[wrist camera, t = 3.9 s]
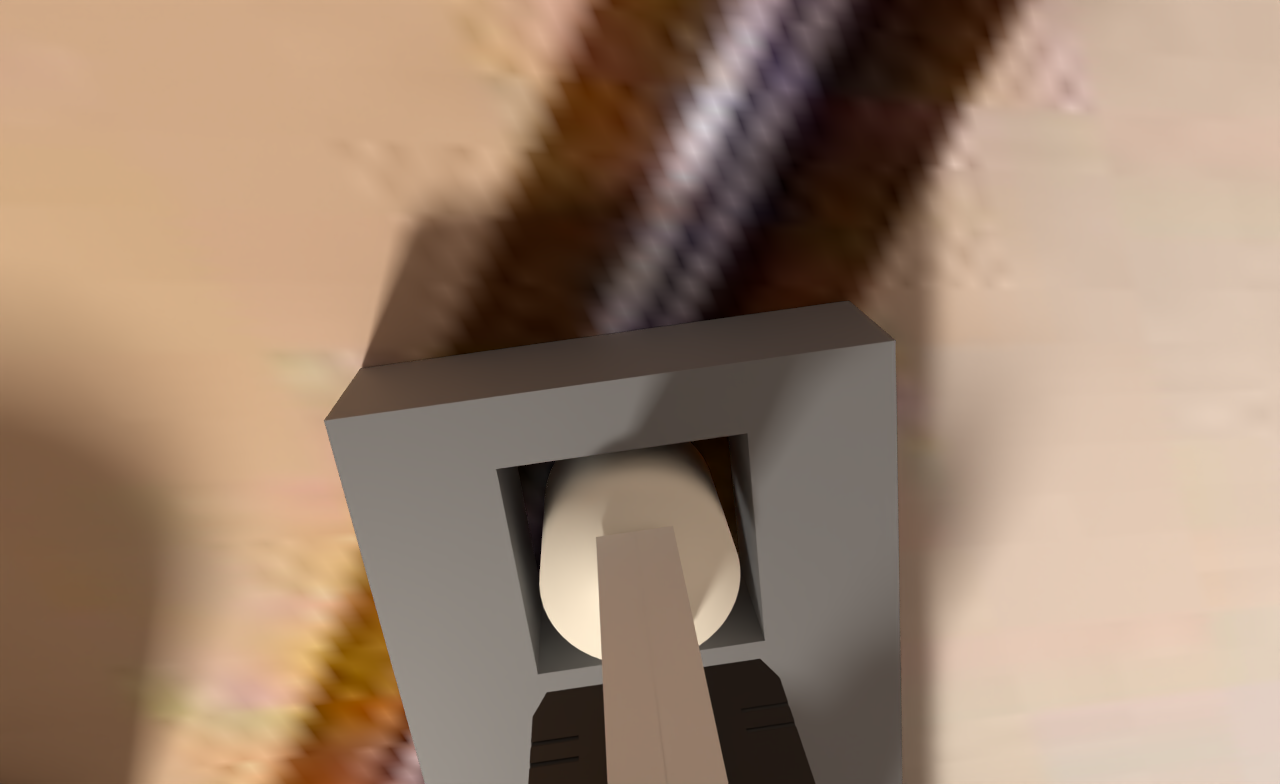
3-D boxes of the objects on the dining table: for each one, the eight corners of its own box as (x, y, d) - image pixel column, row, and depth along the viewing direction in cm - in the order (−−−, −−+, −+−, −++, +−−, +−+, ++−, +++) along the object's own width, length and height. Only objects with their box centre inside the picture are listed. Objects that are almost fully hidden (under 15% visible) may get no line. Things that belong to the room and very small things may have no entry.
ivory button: (531, 433, 20) (523, 508, 16) (705, 409, 20) (731, 477, 16) (558, 582, 21) (556, 677, 18) (720, 558, 21) (747, 649, 18)
